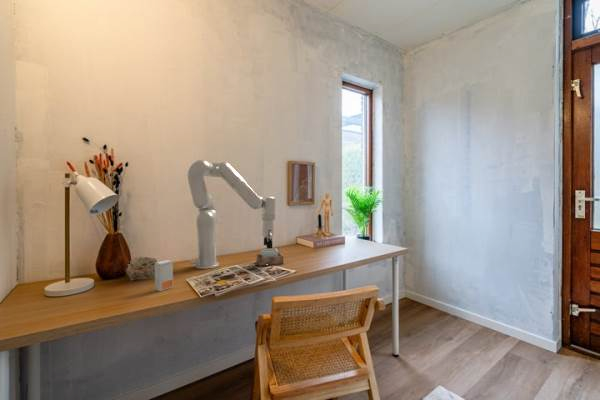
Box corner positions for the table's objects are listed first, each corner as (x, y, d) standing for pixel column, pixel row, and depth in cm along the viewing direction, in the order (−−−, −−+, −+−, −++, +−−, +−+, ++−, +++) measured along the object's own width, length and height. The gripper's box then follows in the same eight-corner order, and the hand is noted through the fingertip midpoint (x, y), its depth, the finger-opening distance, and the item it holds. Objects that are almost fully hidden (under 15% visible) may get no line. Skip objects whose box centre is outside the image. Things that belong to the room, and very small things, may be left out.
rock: (165, 279, 137) (159, 261, 134) (132, 292, 129) (126, 273, 126) (157, 266, 153) (152, 249, 150) (127, 276, 145) (121, 259, 142)
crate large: (259, 266, 154) (259, 258, 154) (256, 261, 164) (256, 254, 164) (283, 263, 158) (283, 256, 158) (279, 259, 168) (279, 252, 168)
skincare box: (160, 291, 116) (159, 264, 116) (155, 290, 119) (154, 262, 118) (173, 287, 121) (173, 260, 121) (168, 285, 124) (167, 259, 123)
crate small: (263, 264, 157) (262, 251, 156) (261, 261, 163) (261, 249, 163) (278, 262, 159) (278, 250, 159) (276, 260, 165) (275, 248, 165)
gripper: (259, 216, 167) (259, 244, 168) (264, 219, 151) (264, 249, 151) (272, 216, 169) (271, 243, 170) (278, 219, 153) (277, 249, 153)
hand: (267, 246), depth 161 cm, fingers open, 9 cm apart
